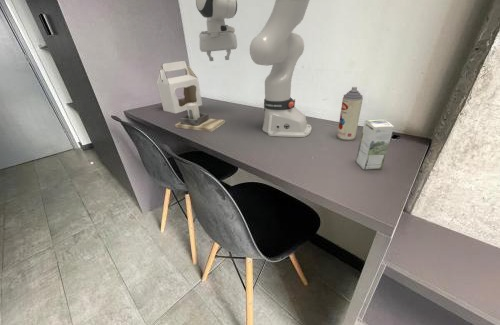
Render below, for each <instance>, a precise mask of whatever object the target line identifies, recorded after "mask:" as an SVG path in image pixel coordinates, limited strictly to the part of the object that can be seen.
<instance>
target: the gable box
mask: <svg viewBox="0 0 500 325" xmlns="http://www.w3.org/2000/svg"><path fill="white" fill-rule="evenodd" d="M160 67H161V69H160V70H159V74H158V78H157V81H156V87H157V90H158V93H159V97H160V102H161V104H162V110H163V111H164V112H167V113H172V114H175V115H176V114H178V113H182V112H184V111H187V106H186V105H189V104H191V103H193V104H198V107H200V106H203V102H202V101H203V100H202V96H201V95H202V94H201V91H200V90H201V89H200V84H199V78H198V76H197V75H196V74H195V72H194V71H193V70H192V68H190V65H187V63H186V61H185V60H180V61H172V62H165V63H162V65H160ZM179 70H184V75H180V76H175V77H169V78H168V77H167V75H166V73H168V72H172V71H179ZM180 88H181V89H182V88H183V96H184V99H183V100H179V99H178V96H177V95H176V90H177V89H180Z"/></svg>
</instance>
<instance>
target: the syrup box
mask: <svg viewBox="0 0 500 325" xmlns="http://www.w3.org/2000/svg"><path fill="white" fill-rule="evenodd" d="M394 128H395V126H394V125H393V124H392V123H391V122H389V121H387V120H386V119H373V120H371V119H369V120H364V123H363V127H362V130H361V131H362V132H361V137H360V140H359V145H358V150H357V154H356V159H355V162H356V163H357V165H359V167H361V169H362V170H364V171H365V170H368V171H369V170H381V169H382V168H383V165H384V162H385V158H386V155H387V151H388V150H389V149H388V148H389V145H390V142H391V138H392V136H393V131H394Z"/></svg>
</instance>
